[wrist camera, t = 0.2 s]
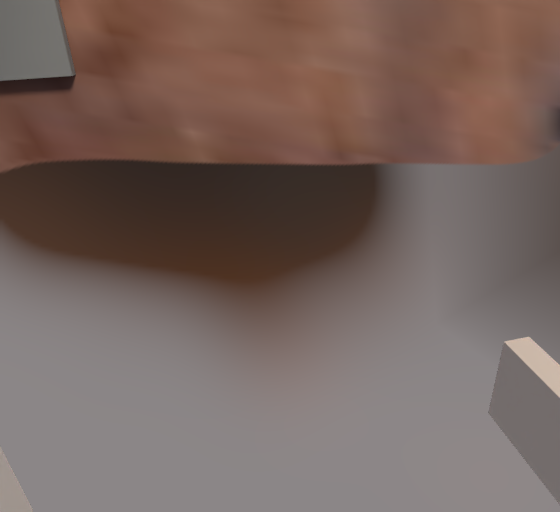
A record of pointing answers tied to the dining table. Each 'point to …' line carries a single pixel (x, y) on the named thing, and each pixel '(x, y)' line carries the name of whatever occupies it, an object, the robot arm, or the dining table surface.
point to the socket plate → (33, 40)
